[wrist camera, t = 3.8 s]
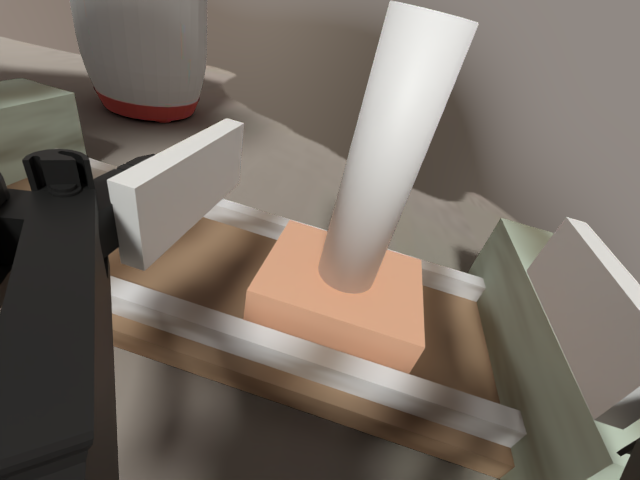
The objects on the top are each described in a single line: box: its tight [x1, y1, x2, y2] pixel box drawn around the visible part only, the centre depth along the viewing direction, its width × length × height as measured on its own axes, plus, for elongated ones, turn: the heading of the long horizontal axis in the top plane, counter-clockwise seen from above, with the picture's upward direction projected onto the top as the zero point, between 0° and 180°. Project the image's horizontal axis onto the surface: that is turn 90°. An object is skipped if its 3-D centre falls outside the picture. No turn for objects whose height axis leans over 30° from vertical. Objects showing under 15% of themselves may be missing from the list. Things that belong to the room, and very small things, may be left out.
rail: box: [0, 78, 640, 480], centre depth 22 cm, size 48×18×7 cm, turn 77°
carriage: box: [243, 1, 479, 374], centre depth 18 cm, size 10×8×16 cm
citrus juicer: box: [70, 0, 207, 123], centre depth 43 cm, size 16×17×20 cm
